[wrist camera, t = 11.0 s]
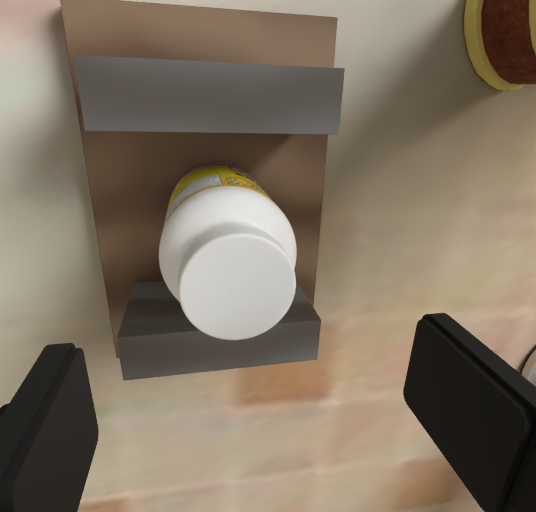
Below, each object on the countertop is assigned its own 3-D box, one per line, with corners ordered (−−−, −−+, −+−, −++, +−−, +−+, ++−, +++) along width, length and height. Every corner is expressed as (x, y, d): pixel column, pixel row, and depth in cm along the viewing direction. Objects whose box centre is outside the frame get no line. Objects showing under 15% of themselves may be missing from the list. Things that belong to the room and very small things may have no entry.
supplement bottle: (278, 225, 27) (343, 314, 16) (200, 267, 27) (208, 387, 16) (236, 142, 24) (278, 176, 13) (149, 189, 25) (113, 265, 13)
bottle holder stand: (305, 329, 33) (340, 397, 26) (120, 346, 30) (96, 429, 23) (329, 22, 24) (394, -17, 17) (67, 2, 21) (-3, -56, 13)
